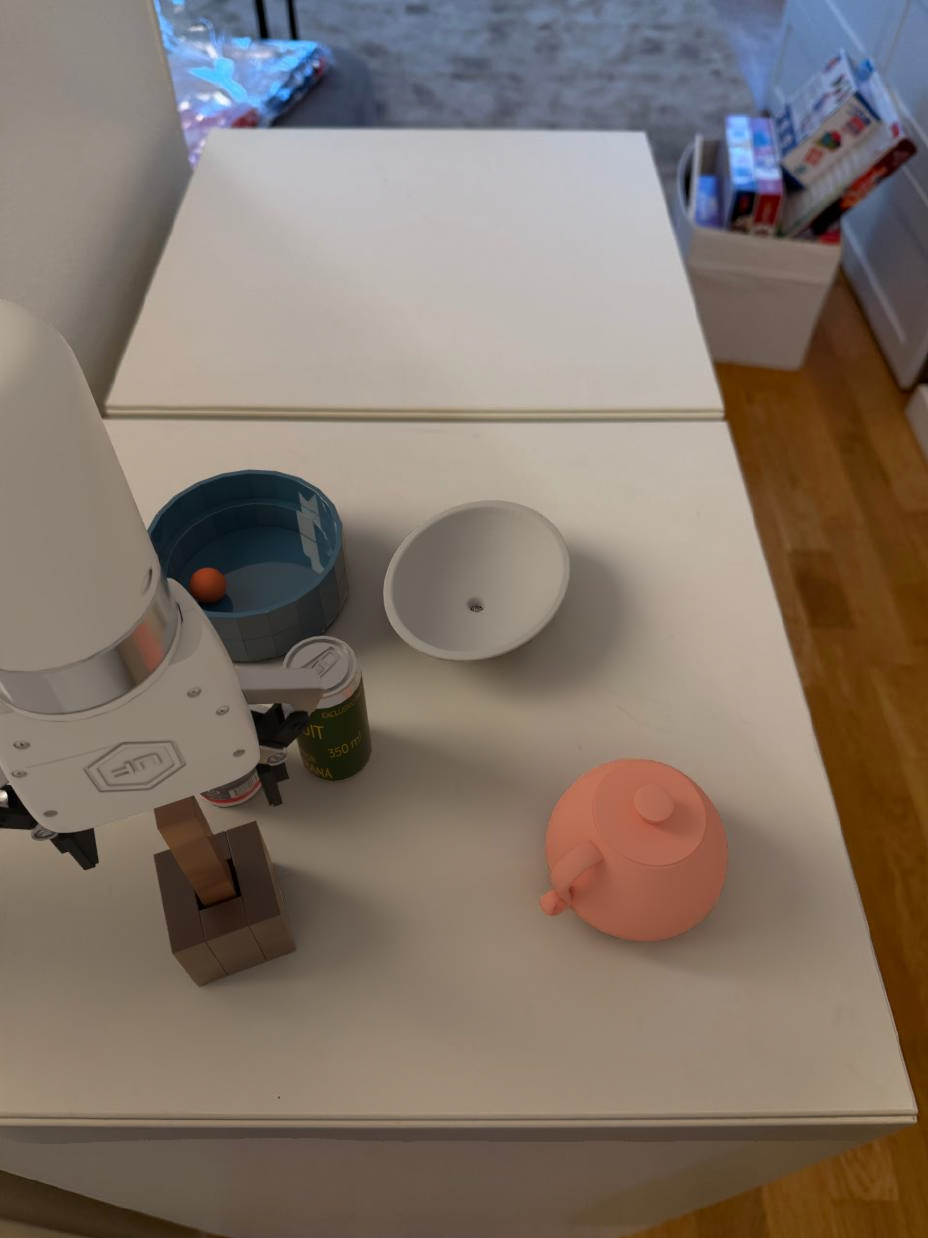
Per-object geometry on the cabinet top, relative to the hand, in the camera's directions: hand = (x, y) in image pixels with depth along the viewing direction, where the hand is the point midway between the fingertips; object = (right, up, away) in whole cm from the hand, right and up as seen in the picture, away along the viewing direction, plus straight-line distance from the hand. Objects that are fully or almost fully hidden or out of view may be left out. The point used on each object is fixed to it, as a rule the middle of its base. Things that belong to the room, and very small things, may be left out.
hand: (181, 812), depth 49 cm
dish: (+16, +11, +30) cm, 36 cm away
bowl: (-3, +13, +31) cm, 34 cm away
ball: (-7, +13, +29) cm, 32 cm away
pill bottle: (-3, -2, +21) cm, 21 cm away
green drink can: (+5, 0, +22) cm, 22 cm away
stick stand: (0, -10, +14) cm, 17 cm away
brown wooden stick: (0, -10, +14) cm, 17 cm away
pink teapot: (+26, -8, +16) cm, 32 cm away
